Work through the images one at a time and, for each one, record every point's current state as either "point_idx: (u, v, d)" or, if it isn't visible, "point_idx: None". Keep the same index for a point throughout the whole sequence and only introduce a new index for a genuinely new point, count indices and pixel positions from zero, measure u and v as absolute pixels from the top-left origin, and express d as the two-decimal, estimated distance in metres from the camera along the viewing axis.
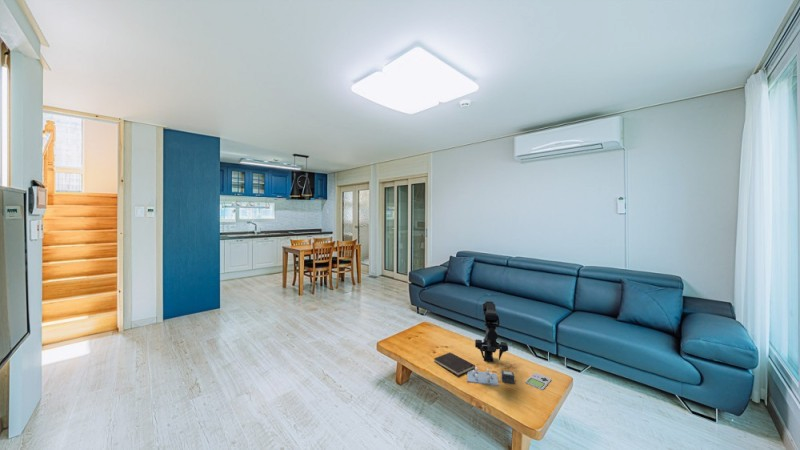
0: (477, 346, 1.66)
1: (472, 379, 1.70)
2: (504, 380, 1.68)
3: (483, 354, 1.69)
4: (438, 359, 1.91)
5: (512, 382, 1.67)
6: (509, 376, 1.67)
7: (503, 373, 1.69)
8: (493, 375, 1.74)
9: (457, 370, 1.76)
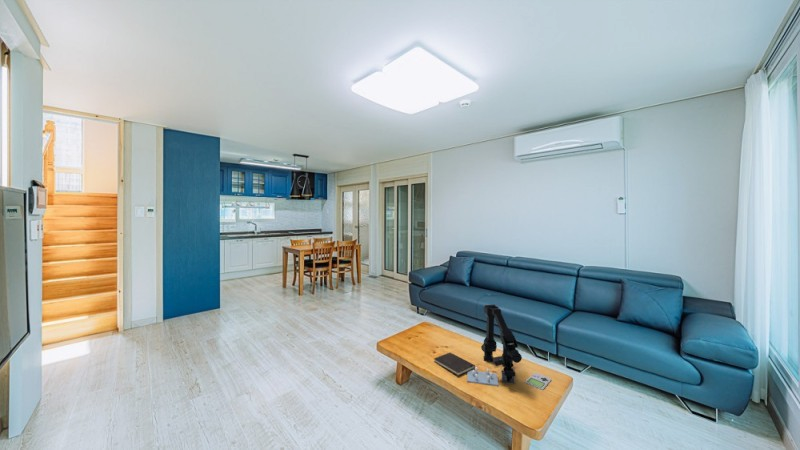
0: None
1: (472, 379, 1.70)
2: (504, 380, 1.68)
3: None
4: (438, 359, 1.91)
5: (512, 382, 1.67)
6: None
7: (503, 373, 1.69)
8: (493, 375, 1.74)
9: (457, 370, 1.76)
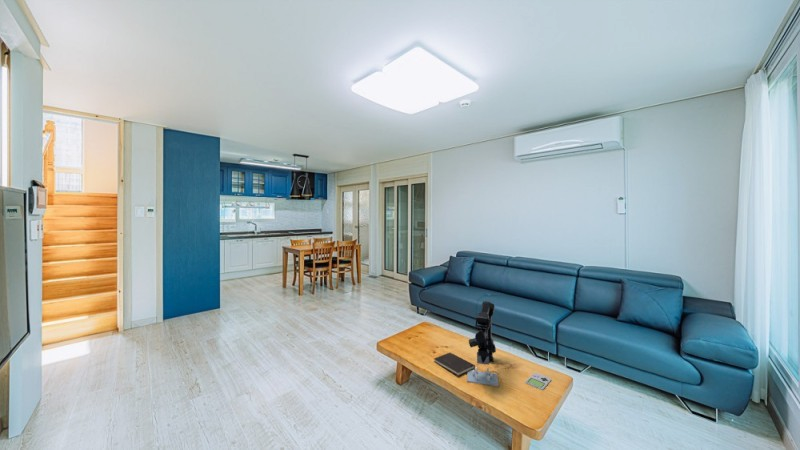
0: None
1: (472, 379, 1.70)
2: (479, 361, 1.70)
3: None
4: (438, 359, 1.91)
5: (487, 363, 1.69)
6: None
7: None
8: (493, 375, 1.74)
9: (457, 370, 1.76)
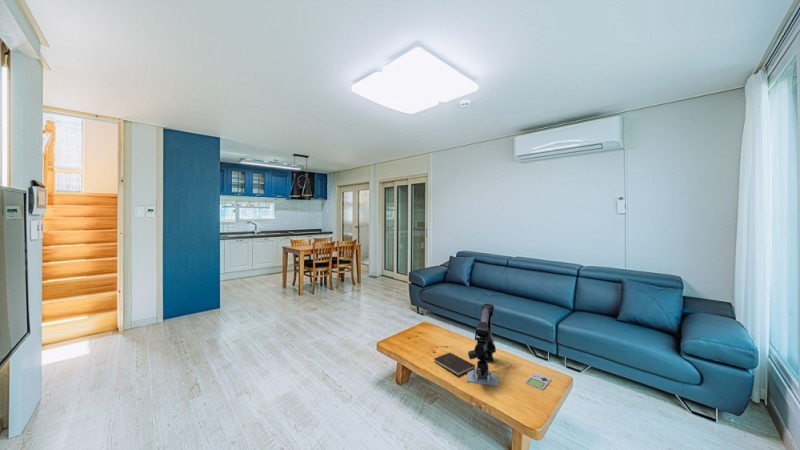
0: None
1: (472, 379, 1.70)
2: (478, 376, 1.71)
3: None
4: (438, 359, 1.91)
5: (486, 378, 1.69)
6: None
7: (478, 369, 1.72)
8: (493, 375, 1.74)
9: (457, 370, 1.76)
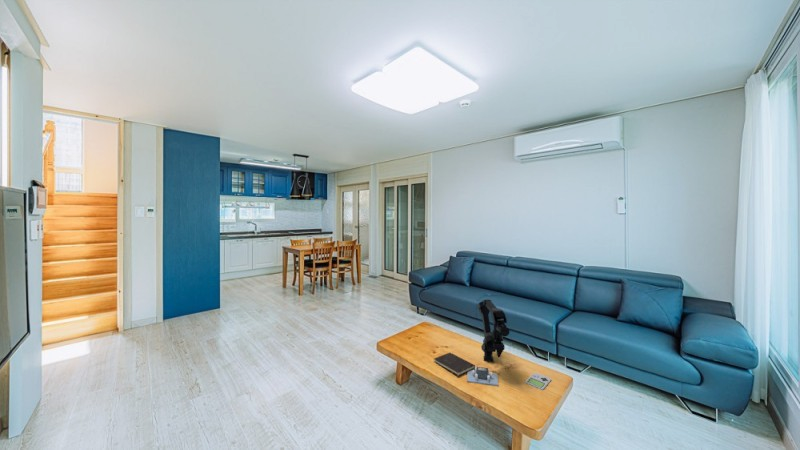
0: None
1: (472, 379, 1.70)
2: (478, 376, 1.71)
3: None
4: (438, 359, 1.91)
5: (486, 378, 1.69)
6: (483, 372, 1.70)
7: (478, 369, 1.72)
8: (493, 375, 1.74)
9: (457, 370, 1.76)
